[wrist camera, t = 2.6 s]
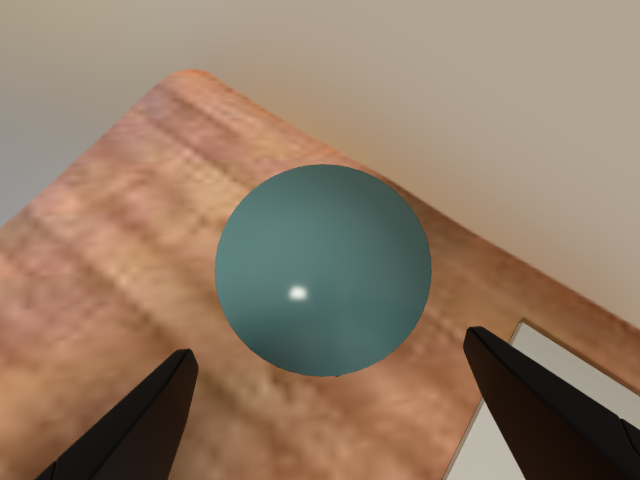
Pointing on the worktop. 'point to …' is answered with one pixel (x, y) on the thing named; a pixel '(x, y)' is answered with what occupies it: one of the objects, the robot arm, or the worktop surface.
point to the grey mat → (484, 435)
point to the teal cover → (323, 270)
